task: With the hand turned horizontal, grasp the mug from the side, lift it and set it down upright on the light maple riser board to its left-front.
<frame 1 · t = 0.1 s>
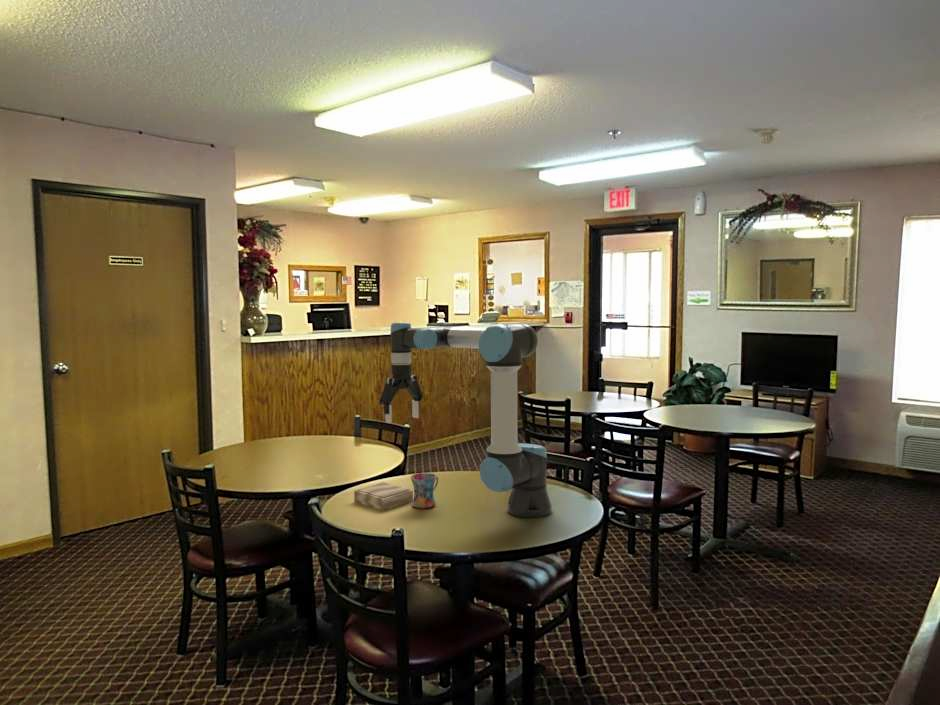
hand: (402, 420, 242), 28 cm above the table, tool pointing down, fingers open, 13 cm apart
riser: (383, 501, 234), on the table
mug: (426, 505, 229), on the table
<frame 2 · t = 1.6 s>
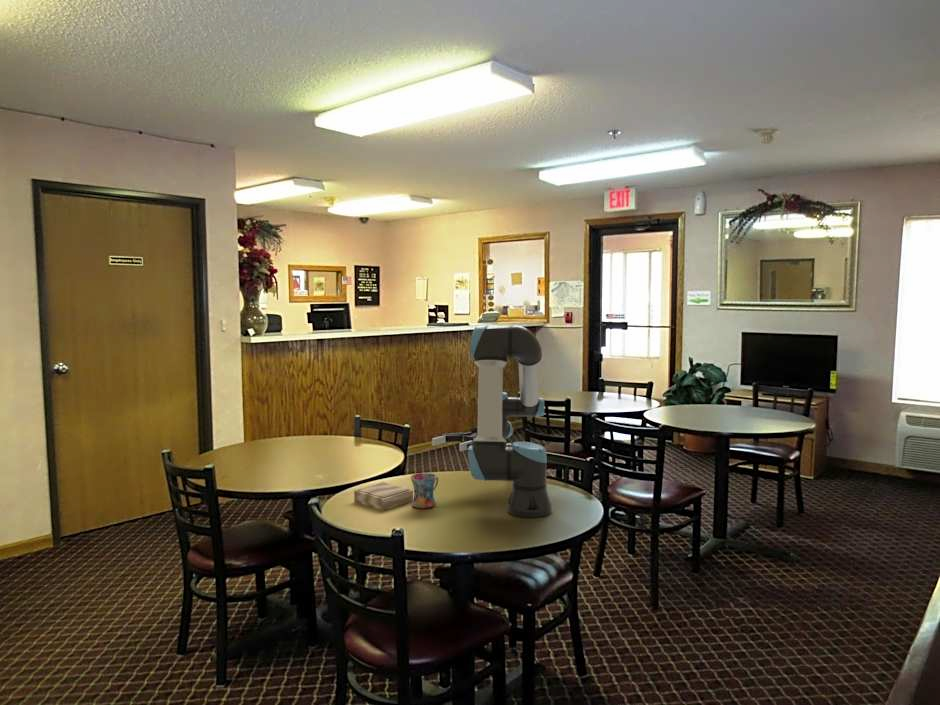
hand: (446, 444, 236), 20 cm above the table, tool horizontal, fingers open, 13 cm apart
nothing on the table moved.
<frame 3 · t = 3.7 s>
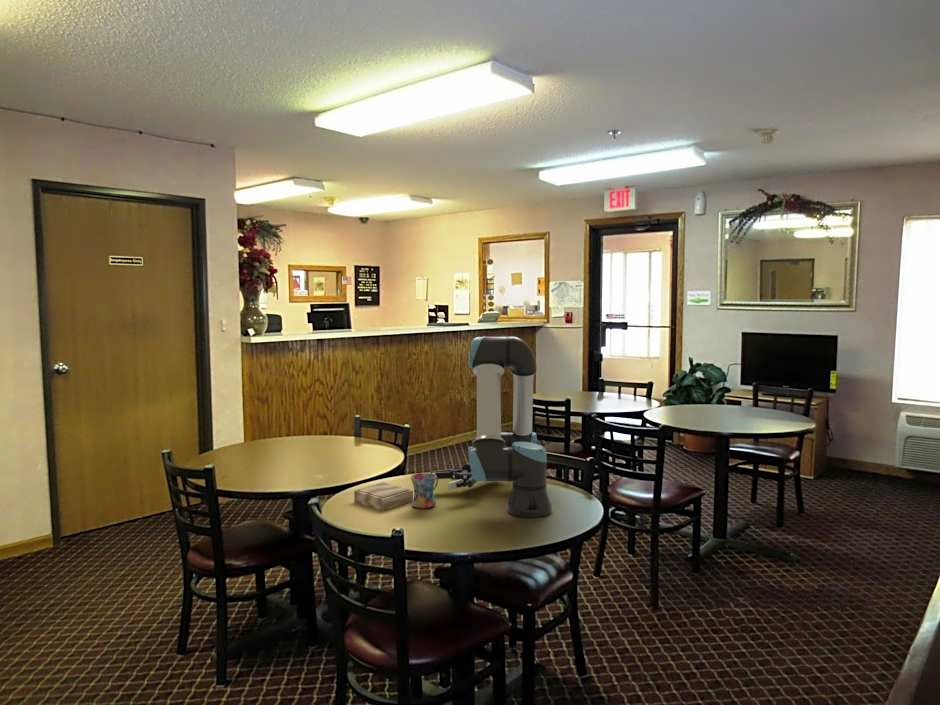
hand: (435, 483, 233), 6 cm above the table, tool horizontal, fingers open, 13 cm apart
nothing on the table moved.
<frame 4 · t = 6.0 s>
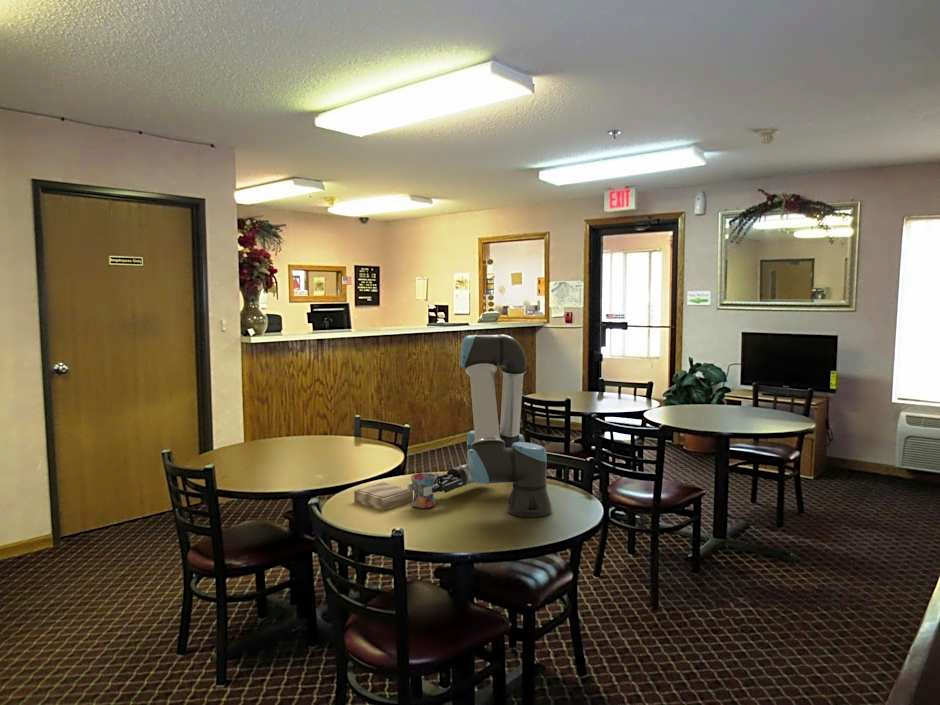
hand: (416, 489, 225), 7 cm above the table, tool horizontal, fingers closed on mug, 7 cm apart
mug: (426, 505, 229), on the table, touching gripper
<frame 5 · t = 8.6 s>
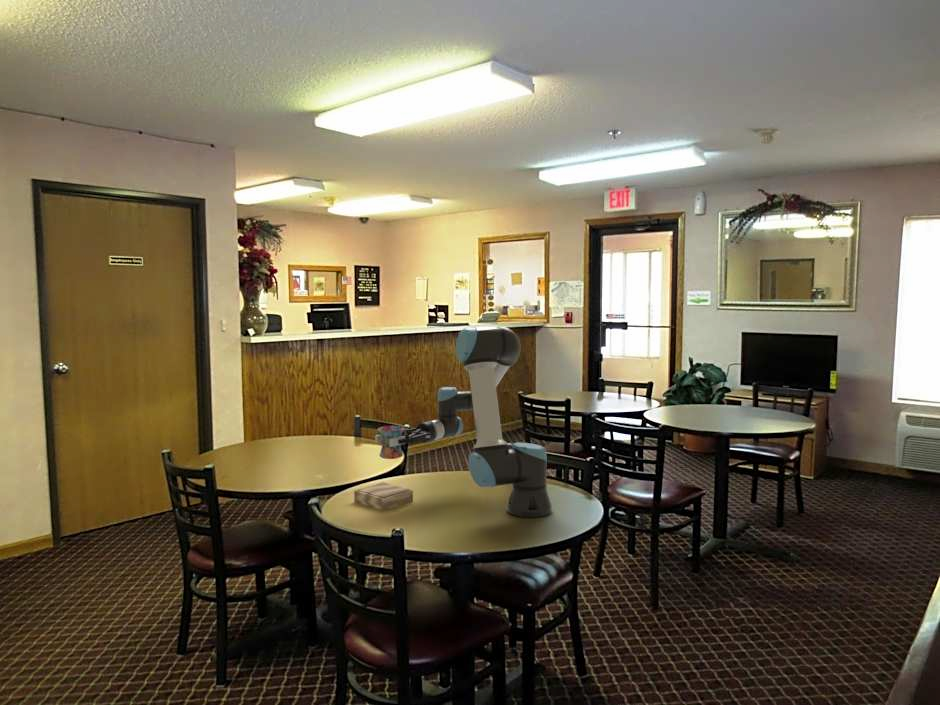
hand: (383, 441, 229), 23 cm above the table, tool horizontal, fingers closed on mug, 7 cm apart
mug: (394, 457, 234), point 16 cm above the table, touching gripper
when the fingers open (11 cm above the table, at t = 11.3 s): mug stays where it is, resting on riser.
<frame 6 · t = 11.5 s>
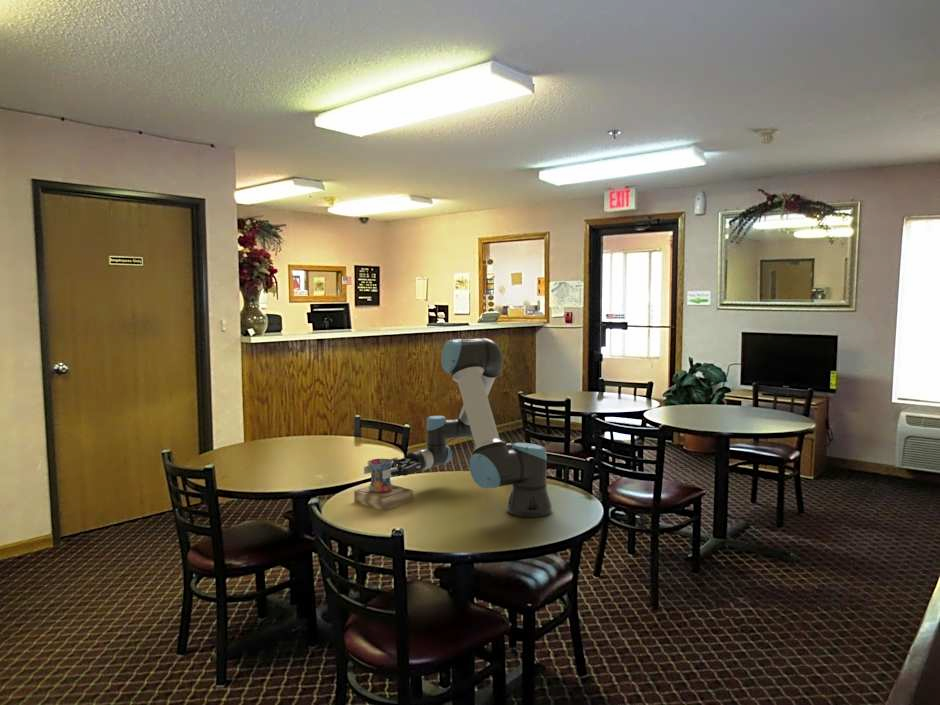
hand: (373, 472, 230), 11 cm above the table, tool horizontal, fingers open, 9 cm apart
mug: (383, 490, 234), point 4 cm above the table, touching riser
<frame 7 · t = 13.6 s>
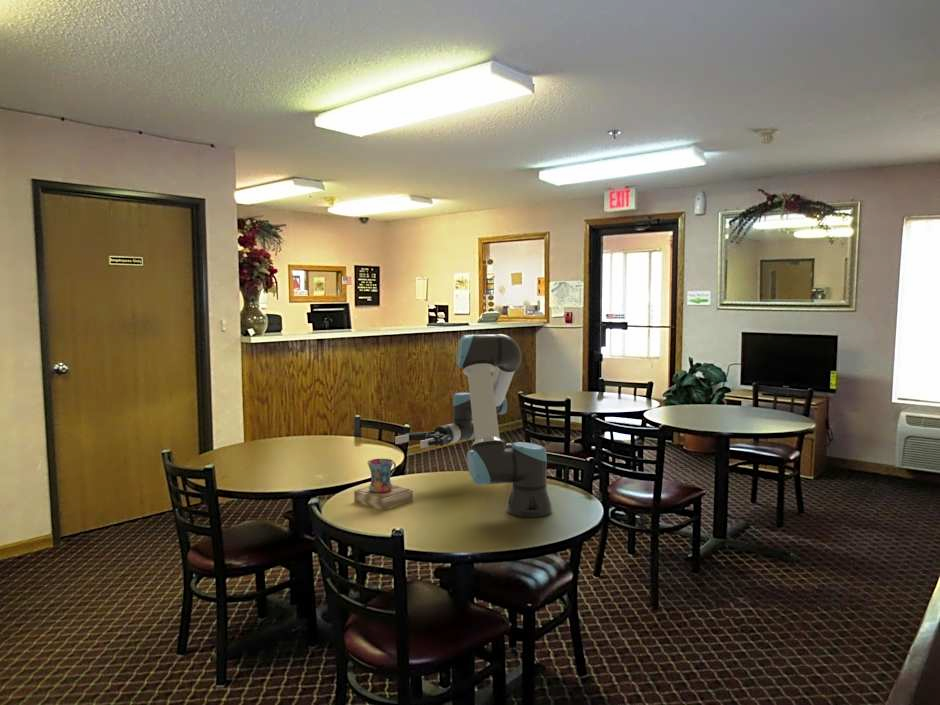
hand: (408, 442, 242), 20 cm above the table, tool horizontal, fingers open, 13 cm apart
nothing on the table moved.
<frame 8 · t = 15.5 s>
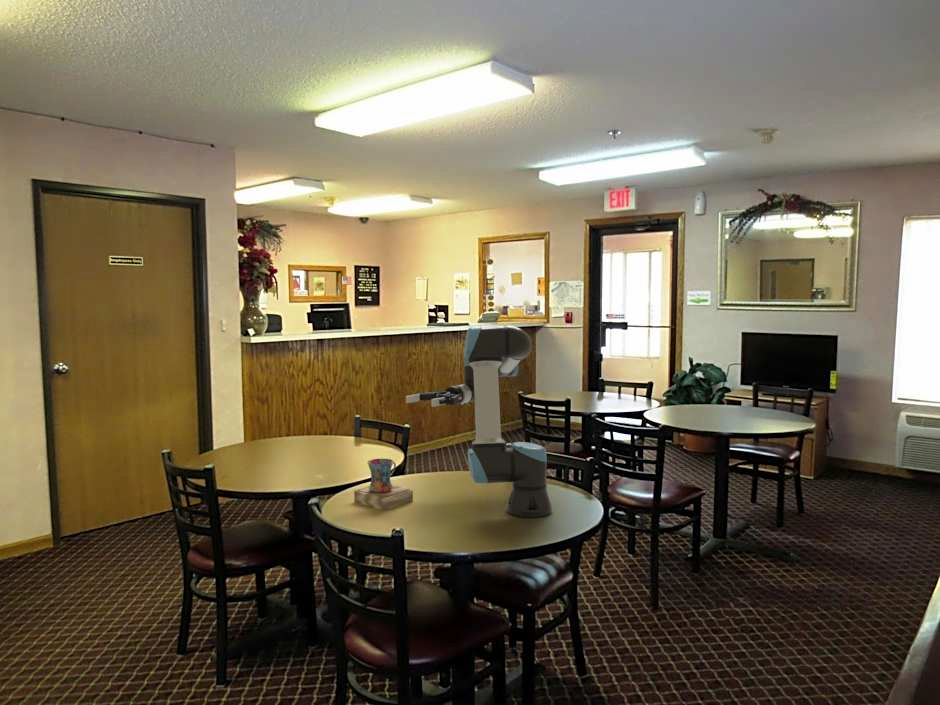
hand: (419, 401, 241), 35 cm above the table, tool horizontal, fingers open, 13 cm apart
nothing on the table moved.
at the end: mug inside the target area on the riser (0.1 cm from its centre), point 4.1 cm above the riser's base; mug tilted 0°; the gripper is holding nothing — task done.
